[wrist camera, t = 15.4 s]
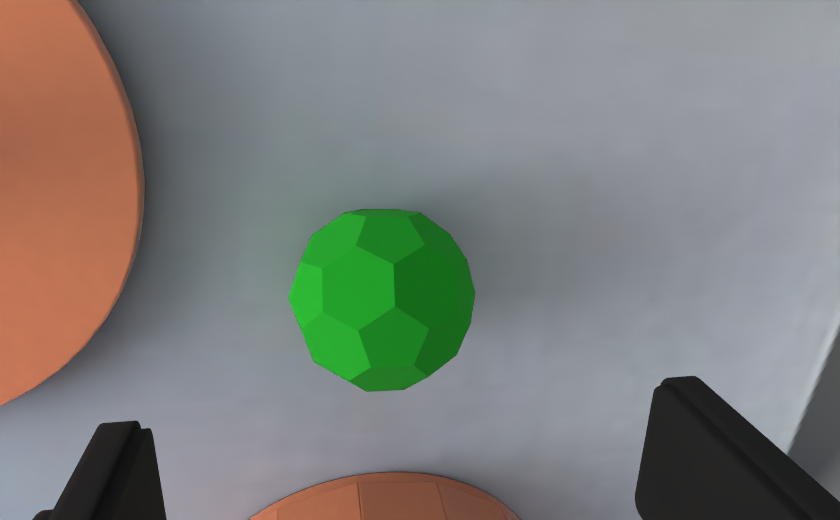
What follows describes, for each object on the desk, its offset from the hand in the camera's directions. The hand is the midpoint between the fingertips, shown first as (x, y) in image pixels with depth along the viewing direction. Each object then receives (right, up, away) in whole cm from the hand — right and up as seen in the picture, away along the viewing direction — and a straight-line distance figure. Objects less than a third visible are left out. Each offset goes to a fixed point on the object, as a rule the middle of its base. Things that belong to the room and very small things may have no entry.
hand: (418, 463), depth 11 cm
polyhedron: (-1, +4, +8) cm, 9 cm away
